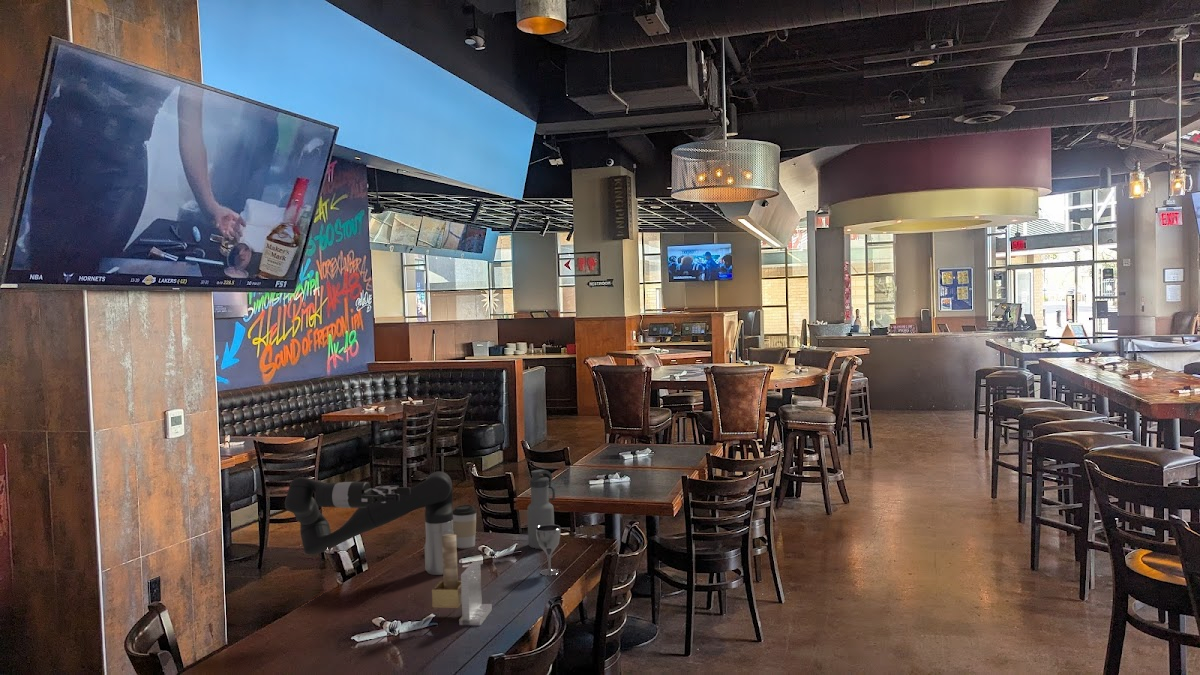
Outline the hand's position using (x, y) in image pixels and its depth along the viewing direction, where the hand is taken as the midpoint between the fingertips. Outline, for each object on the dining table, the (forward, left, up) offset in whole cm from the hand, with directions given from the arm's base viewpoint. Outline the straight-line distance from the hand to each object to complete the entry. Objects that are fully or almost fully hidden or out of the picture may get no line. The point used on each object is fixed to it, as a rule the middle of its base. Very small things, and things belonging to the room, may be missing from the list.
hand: (404, 494), depth 225 cm
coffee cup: (-35, +54, -34) cm, 73 cm away
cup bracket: (+17, +5, -34) cm, 38 cm away
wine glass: (+13, +47, -34) cm, 60 cm away
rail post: (+15, +3, -29) cm, 33 cm away
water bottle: (-10, +69, -34) cm, 78 cm away
